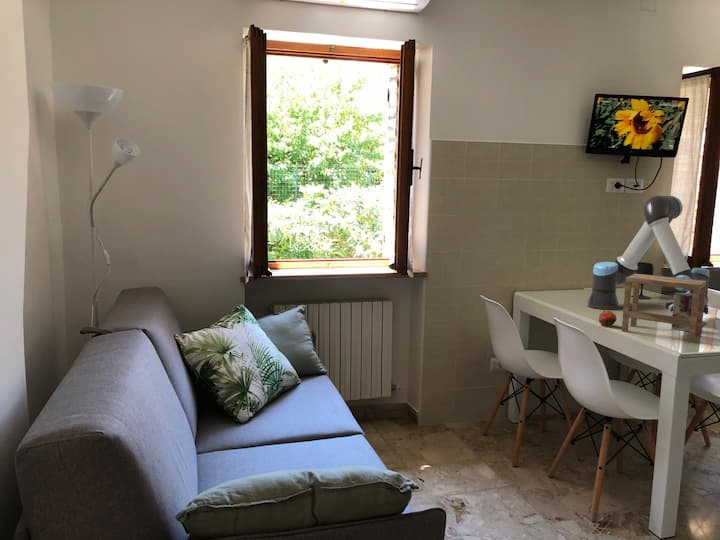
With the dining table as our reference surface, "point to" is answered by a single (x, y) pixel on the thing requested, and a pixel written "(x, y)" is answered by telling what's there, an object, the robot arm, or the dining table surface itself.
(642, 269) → the wine glass
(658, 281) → the walnut table
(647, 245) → the robot arm
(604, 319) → the pomegranate
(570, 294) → the dining table surface
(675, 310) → the coffee box
